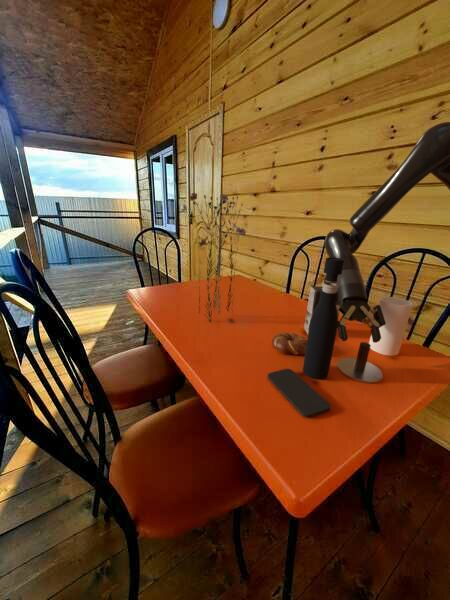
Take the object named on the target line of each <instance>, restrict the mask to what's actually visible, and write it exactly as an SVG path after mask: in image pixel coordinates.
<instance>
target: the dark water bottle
mask: <svg viewBox="0 0 450 600" xmlns="http://www.w3.org/2000/svg"><path fill="white" fill-rule="evenodd" d="M343 264H344V260H343V259H340V258H329V257H326V258H325V260H324V267H323V273H324V274H325V279H324V281H325V282H324V283H323V284H322V287H323V288H322V289H323V290H321V293H320V299H319V302H318V304H317V306H316V308H315V310H314V312H313V314H312V317H311V320H310V325H309V332H308V334H307V339H306V340H307V345H306V351H305V354H304V358H303V366H302V372H303V373H304V375H305V376H307V377H308V378H311V379H313V380H320V381H321V380H325V379H327V378H328V377H329V372H330V368H331V364H332V363H331V362H332V357H333V354H334V353H333V351H334V347H335V344H336V343H335V342H336V338H337V332H338V328H337V327H338V321H339V317H338V313H337V307H336V300H337V294H338V293H337V292H336V291H337V288H338V286H337V284H335V283H337V278H338V275H341V274H342V269H343Z"/></svg>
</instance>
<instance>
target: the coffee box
mask: <svg viewBox="0 0 450 600" xmlns="http://www.w3.org/2000/svg"><path fill="white" fill-rule="evenodd" d="M322 288H323V286H316V285H315V286H313V285H310V288H309V296H308V301H307V307H306V308H307V309H306V312H305V313H306V314H305V320H304V324H303V329H304V330H305V332H306V334H307V335H308V332H309V325H310V320H311V317H312V314H313V312H314V310H315V308H316V306H317V304H318V302H319V299H320V293H321V290H323V289H322ZM336 292H337V291H336ZM336 305H339V302H338V296H337V300H336ZM337 313H338V318H339V317H340V313H341V312H340V311H339V310H338V311H337Z"/></svg>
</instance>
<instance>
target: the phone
mask: <svg viewBox="0 0 450 600" xmlns="http://www.w3.org/2000/svg"><path fill="white" fill-rule="evenodd" d="M267 379H268V380H269V381H270V382H271V383H272V384H273V386H274V387H275V388H276V389H277V390H278V391H279V392H280V393H281V395H283V396H284V397H285V399H286V400H287V401H288V402H289V403H290V404H291V405H292V406H293V407H294V408H295V409H296V410H297V411H298V413H299V414H300V415H301V416H303V418H312V417H315V416H317V415H320V414H323V413H326V412H329V411H330V410H331V406H332V405H331V404H330V402H328V401H327V400H326V399H325V398H324V397H323V396H322V395H320V393H319V392H317V391H316V390H315V389H314V388H313V387H312V386H311V385H309V384H308V383H307V382H306V381H305V380H304V379H303V378H302V377H301V376H299V374H297V373H296V372H295V371H294V370H293V369H291V368H283V369H280V370H276V371H272V372H268V373H267Z"/></svg>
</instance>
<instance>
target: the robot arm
mask: <svg viewBox="0 0 450 600" xmlns="http://www.w3.org/2000/svg"><path fill="white" fill-rule="evenodd" d="M430 174H431V175H432V176H434V177H435V179H437V180H438V181H440V182H441V183H442V184H443V185H444V186H445V187H446V188H447V189H448V190H449V191H450V121H443V122H440V123H438V124H435V125H433V126H430V128H427V130H426V131H424V132H423V133H422V134H421V136H420V137H419V138H418V140H417V141H416V144H415V145H414V146H413V148H412V150H411V151H410V152H409V154H408V155H407V156H406V158H405V159H404V160H403V161H402V163H401V164H400V165H399V166H398V167H397V168H396V170H395V171H394V172H393V173H392V174H391V176H390V177H389V178H388V179H386V181H385V182H384V183H383V184H382V185H381V186H380V187H379V188H378V189H376V191H374V192H373V194H371V196H369V198H368V199H367V200H365V201H364V202H363V204H362V205H361V206H359V208H358V209H357V210H356V211H355V212H354V213H353V214H352V215H351V217H350V218H349V221H348V222H349V225H350V226H351V227H352V228H351V229H350V232H349V233H348V232H346V231H344V230H343V229H339V228H334V229H332V230H330V231H329V232H327V234H326V236H325V239H324V249H325V252H326V254H327V256H328V258H340V259H343V260H344V264H343V269H342V274H341V275H338V278H337V283H335V284H337V286H338V288H337V293H338V294H337V296H338V302H339V305H336V307H337V311H338V310H339V311H340V312H339V313H340V314H342V316H341V317H340V319H339V320H338V327H337V332H338V338H339V339H340V340H341V341H342V342H346V341H348V339H349V338H348V337H349V336H348V332H347V327H346V325H345V324H346V323H347V322H348V321H349V322H354V321H356V322H362V323H363V324H364V325H366V326H368V327H369V329H370V334H371V335H372V339H373V342H375V343H377V342H379V341H380V339H381V334H380V330H379V328H380V327H382V326H383V325H385V324H386V322H385V319H384V316H383V313H382V310H381V307H380V305H379V304H376V305H374V306H370V304H369V303H368V294H367V290H366V285H365V281H364V278H363V276H362V273H361V269H360V264H359V262H358V261H359V260H358V258H357V257H356V256H355V255H354V254H355V253H356V252H357V251H358V250H359V248H360V247H361V245H362V244H363V243H364V242H365V240H366V238H367V236H368V235H369V233H370V231H371V230H373V229H374V228H375V227H376V226H377V225H378V224H379V223H380V222H381V221H382V220H383V219H384V218H386V216H387V215H388V214H389V213H390V212H391V211H392V210H393V209H394V208H395V207H396V206H397V205H398V203H400V201H401V200H403V198H404V197H405V196H406V195H407V194H409V192H410V191H412V190H413V188H414V187H416V186H417V185H418V184H419V183H420V182H422V180H424V179H425V178H426V177H427V176H429V175H430ZM371 335H370V336H371Z"/></svg>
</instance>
